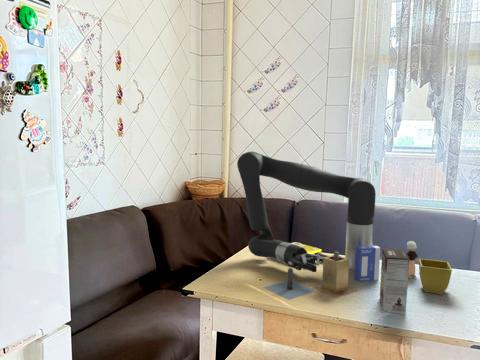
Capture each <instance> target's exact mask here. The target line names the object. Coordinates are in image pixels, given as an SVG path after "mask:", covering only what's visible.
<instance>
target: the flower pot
mask: <svg viewBox="0 0 480 360" xmlns="http://www.w3.org/2000/svg"><path fill="white" fill-rule="evenodd" d="M418 260H419V261H418V266H419V269H418V270H419V271H418V272H419V279H420V283H421V287H422V289H423V291H424V292H425V293H428V294H429V293H431V294H437V295H443V294H444V293H445V292H446V290H447V289H448V287H449V284H450V281H451V275H452V271H453V269H452V267H451V266H450V265H451V264H450V263H449V262H448V261H444V260H435V259H425V258H418Z"/></svg>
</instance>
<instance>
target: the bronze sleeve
mask: <svg viewBox="0 0 480 360" xmlns="http://www.w3.org/2000/svg"><path fill="white" fill-rule="evenodd" d="M327 256H328V257H324V258H323V265H322V281H321V282H322V284H321V285H322V288H323V289H326V290H328V291H330V292H333V293H335V294H337V293H340V292H343V291H346V290H348V287H349V272H350V270H349V259H347V258H345V256H344V257H343V256H340V255H339V261H335V260H334V254H333V255H327Z"/></svg>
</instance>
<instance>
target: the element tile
mask: <svg viewBox="0 0 480 360" xmlns="http://www.w3.org/2000/svg"><path fill="white" fill-rule="evenodd" d="M290 243H291V244H294V245H297V246H300V247H303V248H304V249H305V250H306V252H307V253H311V254H314V255H315V253H316V252H317V253H320V254H323V253H322V252H323V250H322V249H321V248H318V247H316V246H315V247H314V246H311V245H309V244H308V245H307V244H303V243H301V242H296V241H295V242H290ZM315 261H316V260H315ZM316 262H317V261H316Z"/></svg>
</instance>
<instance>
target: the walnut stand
mask: <svg viewBox="0 0 480 360" xmlns="http://www.w3.org/2000/svg"><path fill="white" fill-rule="evenodd" d="M333 255H334V260H335V261H339V256H340V252H339V251H334V252H333ZM311 289H314V290H316V291H319V292H322V293H324V294H327V295H329V296H332V297H334V298H340V297H343V296H345V295H350V294H352V293H355V292H358V290H357V289H355V288H353V287H349V286H348V290H346V291H343V292H340V293H337V294H335V293H333V292H330V291H328V290H326V289H323V288H322V284H319V285H316V286H313V287H312V288H311Z"/></svg>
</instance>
